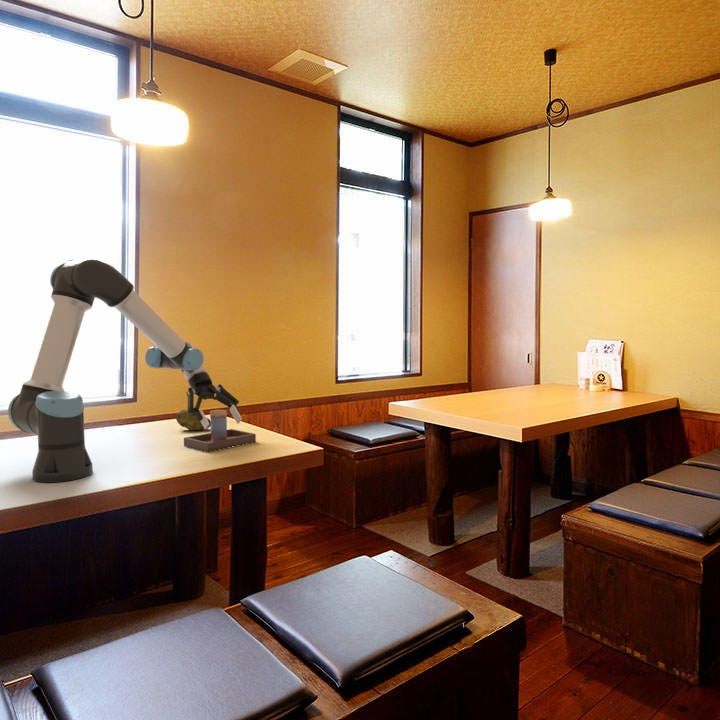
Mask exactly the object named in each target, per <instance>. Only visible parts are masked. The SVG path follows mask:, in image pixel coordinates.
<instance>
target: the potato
mask: <svg viewBox="0 0 720 720" xmlns="http://www.w3.org/2000/svg"><path fill="white" fill-rule="evenodd" d="M187 411H188V409H182V410H180V411H178V412H177V413H176V415H175V419H176V420H175V421H176V422H177V424H179V426H181V427H183V428H185V429H187V430H189V431H193V430H199V431H203V430H206V429H204V427H203V425H202V424H201V422H200V421H198V419H197V417H196V416H193V415H192V413H190V414H189V413H188V412H187ZM206 418H207V420H208V422H209V424H210V425H209V426H208V428H207V429H209V428H211V421H210V418H208V417H206Z"/></svg>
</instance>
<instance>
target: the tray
mask: <svg viewBox="0 0 720 720" xmlns="http://www.w3.org/2000/svg"><path fill="white" fill-rule="evenodd" d="M256 437H257V434H256V433H253V432H248V431H244V430H239V429H236V428H235V429H234V428H230V429H228V428H227V439H224V440H219V441H214V442H211V432H208V433H203V434H197V435H192V436H186V437H183V447H185V446H187V447H186V448H188V447H191V448H190V449H192V448H194V449H193V450H196V449H198V450H197V451H200V450H202V451H201V452H204V451H206V452H205V453H207V452H208V453H211V452H210V451H213V452H215V451H214V450H217V451H220V450H219V449H222V450H224V449H223V448H226V449H229V448H228V447H231V448H233V447H232V446H236V447H238V446H237V445H240V446H243V445H242V444H245V445H247V444H246V443H250V444H252V443H251V442H254V443H256V441H257V440H256V439H257V438H256Z"/></svg>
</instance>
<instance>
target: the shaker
mask: <svg viewBox="0 0 720 720" xmlns="http://www.w3.org/2000/svg"><path fill="white" fill-rule="evenodd" d="M227 415H228V410H226V409H214V410H212V409H211V410H209V416H210V417H209V420H210V422H211V426H210V433H211V442H214V441H219V440H224V439H227V430H228V423H227V422H228V421H227V419H228V418H227Z"/></svg>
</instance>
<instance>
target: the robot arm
mask: <svg viewBox="0 0 720 720" xmlns="http://www.w3.org/2000/svg"><path fill="white" fill-rule="evenodd" d="M49 280H50V286H51V288H52V292H51V295H50V298H51V300H52V301H53V304H54V305H53V308H52V311H51V314H50V317H49V320H48V323H47V327H46V330H45V333H44V336H43V340H42V343H41V345H40V349H39V352H38V355H37V359H36V361H35V365H34V368H33V371H32V374H31V377H30V379H28V380H27V381H25V382H23V384H22V385H21V389H20V392H19V393H18V394H17V395H16V396H14V397H13V398H12V399H11V401H10V403H9V405H8V410H7V414H8V420H9V421H10V422H11V424H12V425H13V426H14V427H15V428H16V429H18V430H20V431H22V432H24V433H27V434H34V435H37V444H38V447H37V448H38V449H37V450H38V451H37V455H36V458H35V461H34V466H33V468H32V473H31V474H32V480H33V481H34V480H35V482H37V481H38V483H62V482H69V481H75V480H79V479H82V478H83V479H84V478H85V477H88V476H90V475H91V474H92V473H93V471H94V470H93V466H94V465H93V462H92V460H91V458H90V455H89V453H88V451H87V448H86V442H85V441H86V440H85V438H86V437H85V418H84V417H85V413H84V411H85V406H84V402H83V397H82V395H80V394H79V393H76V392H73V391H69V390H67V391H66V390H65V389H64V387H63V385H64V382H65V378H66V375H67V371H68V368H69V365H70V362H71V358H72V355H73V351H74V348H75V346H76V342H77V339H78V335H79V332H80V329H81V325H82V322H83V319H84V316H85V313H86V312H87V311H89V310H91V309H92V308H93V304H94V301H95V298H96V299H98V300H100V301H102V302H103V303H105V304H106V305H107V306H108V307H109V308H115V309H116V310H117V311H119V313H120V314H121V315H123V316H124V317H125V318H126V320H128V321H129V322H130V323H131V324H132V325H133V326H134V327H136V329H138V330H139V332H141V334H143V335H144V336H145V338H147V339H148V340H149V341H150V342H151V343H153V344H154V345H155V346H150V347H149V348H147V350H146V352H145V354H144V355H145V356H144V357H145V358H144V359H145V363H146V365H147V366H148V367H149V368H152V369H153V368H154V369H169V370H172V369H173V370H180V371H181V372H182V375H184V378H185V379H186V381H187V383H188V385H189V386H190V387H188V388H187V390H186V392H185V393H186V396H187V410H188V411H187V412H188V413H189V414H190V413H192V415H193V416H196V417H197V419H198V421H200V422H201V424H202V425H203V427H204V429H205V430H208V429H209V428H208V426H209V425H210V424H209V422H208V420H207V418H208V417H206V415H205V413H204V411H203V409H200V407H201V404H202V402H203V400H204V401H205V400H212V399H213V400H214V401H217V402H219V403H221V404H223V405H224V406H226V407H228V408H229V409H228V410H229V412H230V413H231V415H232V417H233V419H234V421H235V422H236V424H240V422H241V421H242V420H243V418H242V416H241V414H240V409H239V408H238V407H237V406H238V404H239V402H240V400H238V399H237V398H236V397H235V396H233V395H232V394H231V393H230V392H228V391H227V390H226V389H225V388H224V387H223V385H222V384H220V383H219V384H218V385H217V386H215V385H214V384H213V381H212V378H211V377H210V374H208V371H207V370H206V368H205V366H204V365H203V364H204V360H205V359H204V358H205V356H204V354H203V352H202V351H201V350H200V349H199V348H196V347H193V346H192V345H191V343H190V342H189V341H184V340H183V339H182V338H181V336H179V334H178V333H177V332H176V331H175V330H174V329H173V328H172V327H171V326H169V324H168V323H167V322H166V321H164V320H163V319H162V317H161V316H160V315H159V314H158V313H156V311H155V310H154V309H153V308H151V306H150V305H149V304H148V303H147V302H146V301H145V300H143V298H141V297H140V295H139V294H137V292H136V291H135V290H134V289H135V286H134V285H133V284H132V282H131V281H129V280H128V278H127V277H125V276H124V275H123V274H122V273H121V272H120V271H119V270H117V269H116V268H115V267H114V266H113V265H111V264H110V263H108V262H106V261H104V260H103V259H99V258H93V257H91V258H84V259H71V260H66V261H64V262H61V263H59V264H58V265H56V267H55V268H54V269H53V270H52V272H51V275H50V279H49ZM195 396H196V397H197V396H198V397H197V399H196V403H195V401H194V400H195ZM194 404H195V405H194Z"/></svg>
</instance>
